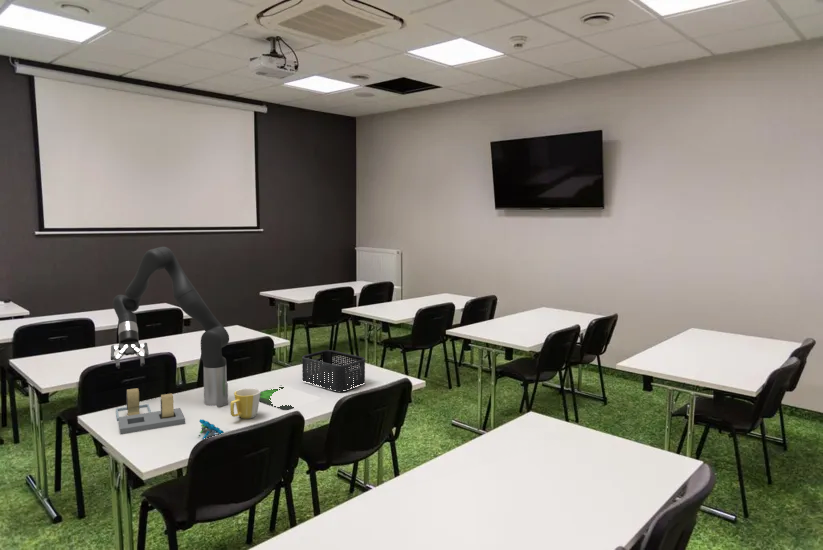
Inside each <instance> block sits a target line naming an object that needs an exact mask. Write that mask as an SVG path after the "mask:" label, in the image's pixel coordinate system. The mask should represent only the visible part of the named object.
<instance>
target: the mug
mask: <svg viewBox="0 0 823 550" xmlns="http://www.w3.org/2000/svg"><path fill="white" fill-rule="evenodd" d="M260 392H261V390H260V389H259V388H254V387H247V388H240V389H237V390H235V391H234V395H233V396H234V400H232V401H230V404H229V405H230V415H231V417H233V418H234V417H240V418H241V419H244V420H249V419H254V418H255V417H256V415H257V414H258V410H259V405H260V402H259V399H260ZM234 407H236V413H235V409H234Z"/></svg>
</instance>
